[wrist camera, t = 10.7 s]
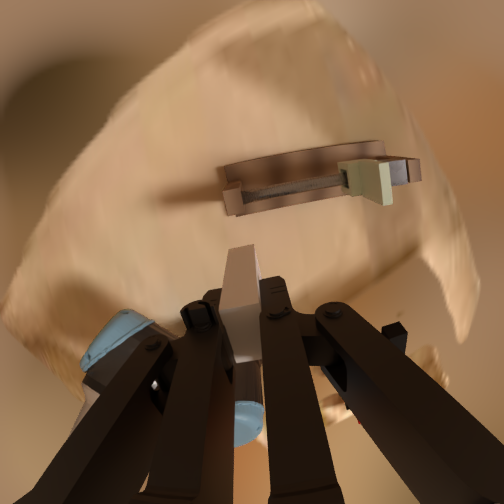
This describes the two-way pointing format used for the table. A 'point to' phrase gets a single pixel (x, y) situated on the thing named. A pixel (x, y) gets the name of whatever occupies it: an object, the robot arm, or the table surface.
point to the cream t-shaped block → (368, 180)
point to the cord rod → (319, 183)
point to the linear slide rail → (300, 174)
